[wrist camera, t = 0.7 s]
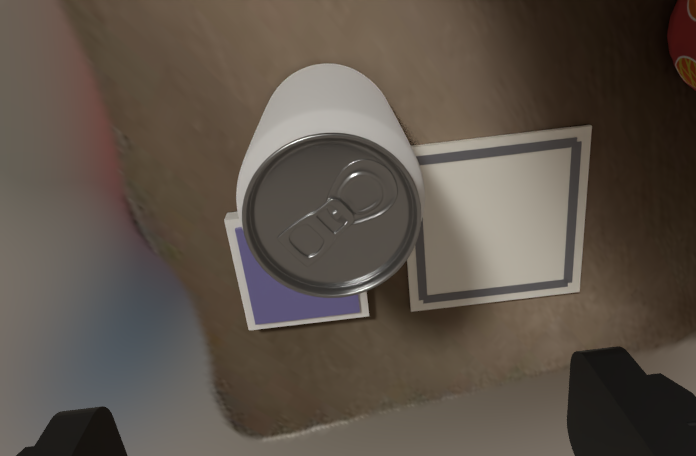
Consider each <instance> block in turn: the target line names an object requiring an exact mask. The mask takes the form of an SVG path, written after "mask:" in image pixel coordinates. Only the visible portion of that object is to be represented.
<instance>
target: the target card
mask: <svg viewBox="0 0 696 456" xmlns="http://www.w3.org/2000/svg"><path fill="white" fill-rule="evenodd" d="M591 133H592V126H591V125H582V126H573V127H565V128H557V129H548V130H540V131H531V132H523V133H515V134H506V135H498V136H490V137H481V138H473V139H465V140H456V141H448V142H440V143H431V144H423V145H415V146H411V147H412V149H413V151H414V153H415V155H416V158H417V160H418V162H419V165H420V168H421V171H422V175H423V180H424V186H425V207H424V213H423V217H422V221H421V226H420V232H419V236H418V239H417V242H416V244H415V247H414V249H413V251H412V253H411V254H410V256H409V258H408V259H407V270H408V283H409V297H410V309H411V312H414V311H422V310H431V309H439V308H448V307H456V306H465V305H473V304H482V303H490V302H499V301H507V300H516V299H524V298H533V297H541V296H550V295H558V294H567V293H575V292H580V278H581V265H582V252H583V239H584V226H585V212H586V199H587V186H588V173H589V160H590V146H591Z"/></svg>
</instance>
